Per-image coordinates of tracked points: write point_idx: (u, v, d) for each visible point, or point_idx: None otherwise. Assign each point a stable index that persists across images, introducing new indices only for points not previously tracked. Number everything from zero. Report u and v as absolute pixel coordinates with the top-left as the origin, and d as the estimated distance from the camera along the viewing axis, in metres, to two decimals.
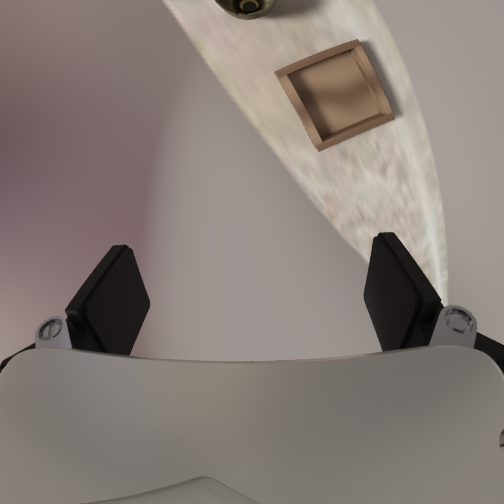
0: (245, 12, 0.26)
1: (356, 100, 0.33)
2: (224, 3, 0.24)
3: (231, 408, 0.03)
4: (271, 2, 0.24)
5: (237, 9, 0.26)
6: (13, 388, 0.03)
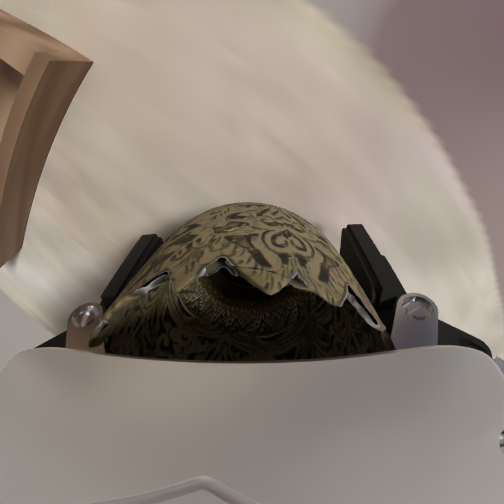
0: None
1: None
2: None
3: (231, 408, 0.03)
4: (175, 296, 0.10)
5: None
6: (13, 388, 0.03)
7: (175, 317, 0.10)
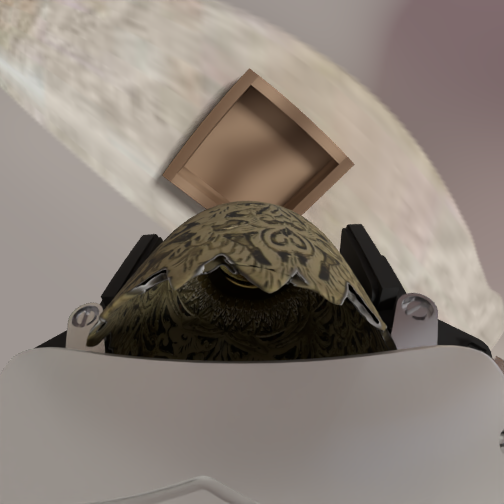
0: None
1: (223, 164, 0.26)
2: None
3: (231, 408, 0.03)
4: (174, 295, 0.10)
5: None
6: (13, 388, 0.03)
7: (174, 316, 0.10)
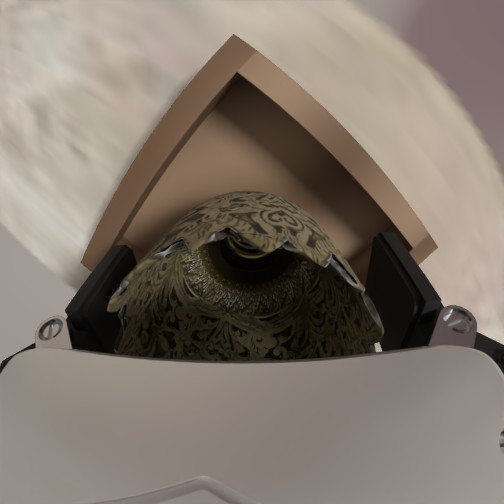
0: None
1: None
2: None
3: (231, 408, 0.03)
4: (180, 277, 0.11)
5: None
6: (13, 388, 0.03)
7: (180, 297, 0.11)
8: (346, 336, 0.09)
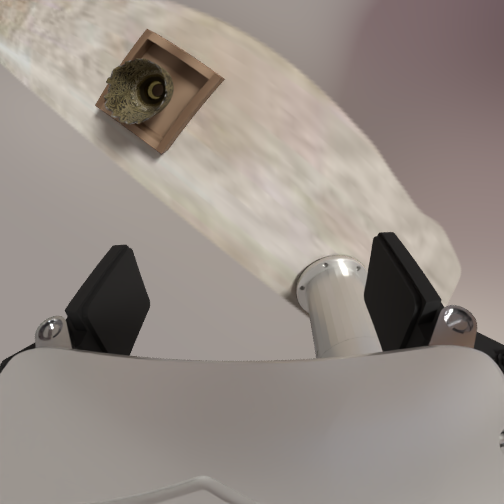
0: (152, 78, 0.28)
1: None
2: None
3: (231, 408, 0.03)
4: (128, 98, 0.28)
5: (160, 78, 0.28)
6: (13, 388, 0.03)
7: (127, 103, 0.28)
8: (167, 91, 0.26)
